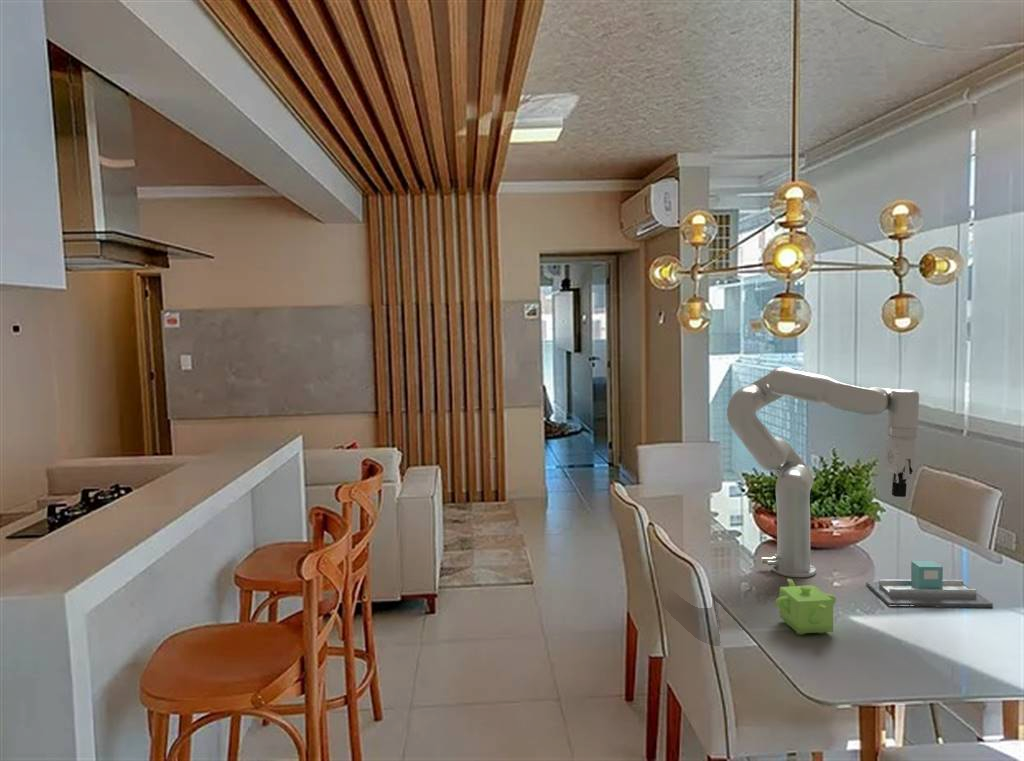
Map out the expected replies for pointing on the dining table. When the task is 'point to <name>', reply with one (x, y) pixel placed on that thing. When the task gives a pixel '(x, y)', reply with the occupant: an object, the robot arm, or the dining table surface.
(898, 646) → the dining table surface
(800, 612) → the teapot
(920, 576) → the block
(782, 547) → the robot arm
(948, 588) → the rail board
